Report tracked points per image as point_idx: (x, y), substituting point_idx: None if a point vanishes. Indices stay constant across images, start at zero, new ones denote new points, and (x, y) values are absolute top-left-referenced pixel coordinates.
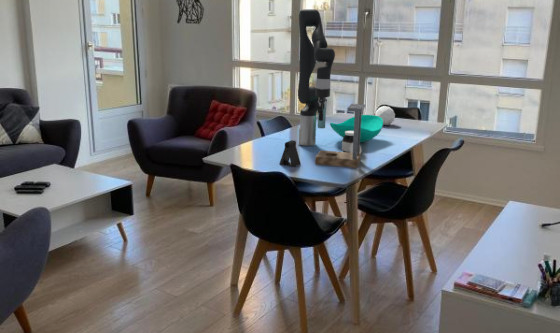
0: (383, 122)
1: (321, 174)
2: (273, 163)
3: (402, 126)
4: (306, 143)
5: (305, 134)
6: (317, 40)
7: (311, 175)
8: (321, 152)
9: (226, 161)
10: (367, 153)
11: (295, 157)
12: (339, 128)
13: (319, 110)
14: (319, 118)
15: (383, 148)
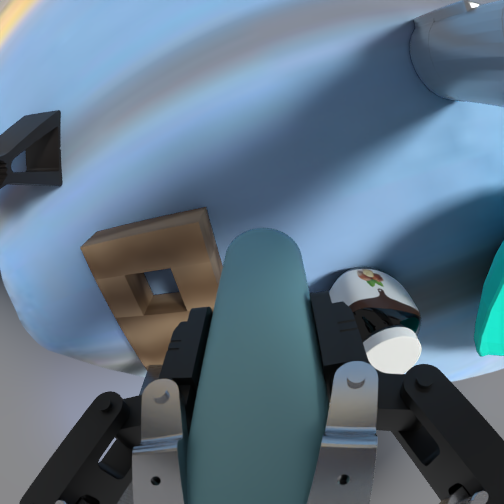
0: None
1: (37, 289)
2: (26, 89)
3: None
4: (417, 58)
5: (444, 45)
6: None
7: (15, 269)
8: (158, 243)
9: None
10: None
11: (23, 184)
12: (495, 264)
13: (148, 429)
14: (173, 337)
15: (441, 349)
